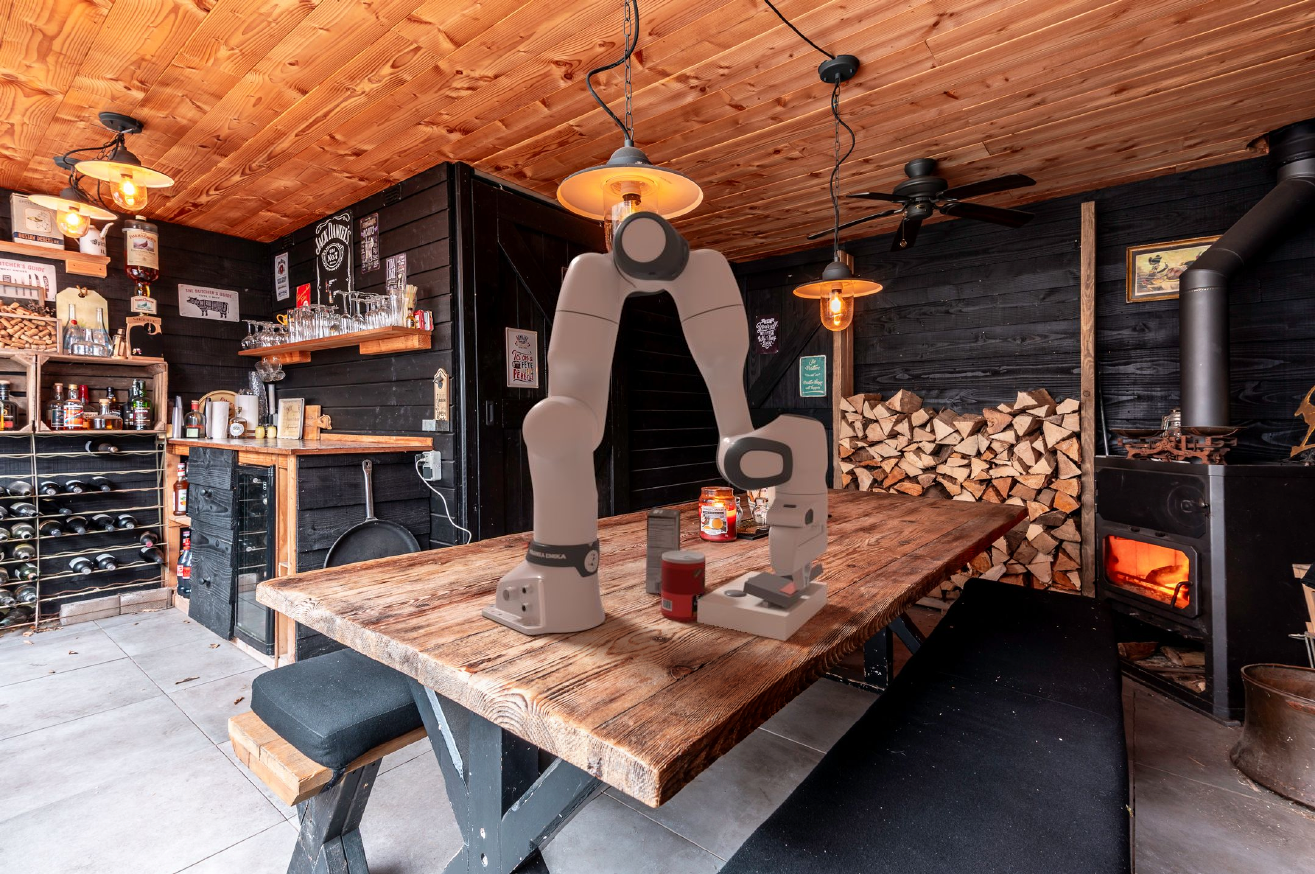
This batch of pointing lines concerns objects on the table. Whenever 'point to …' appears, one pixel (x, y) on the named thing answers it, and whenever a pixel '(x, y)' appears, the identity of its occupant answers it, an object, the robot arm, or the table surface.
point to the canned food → (682, 584)
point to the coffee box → (660, 543)
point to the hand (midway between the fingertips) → (801, 587)
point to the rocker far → (814, 573)
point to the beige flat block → (759, 609)
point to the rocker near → (773, 589)
